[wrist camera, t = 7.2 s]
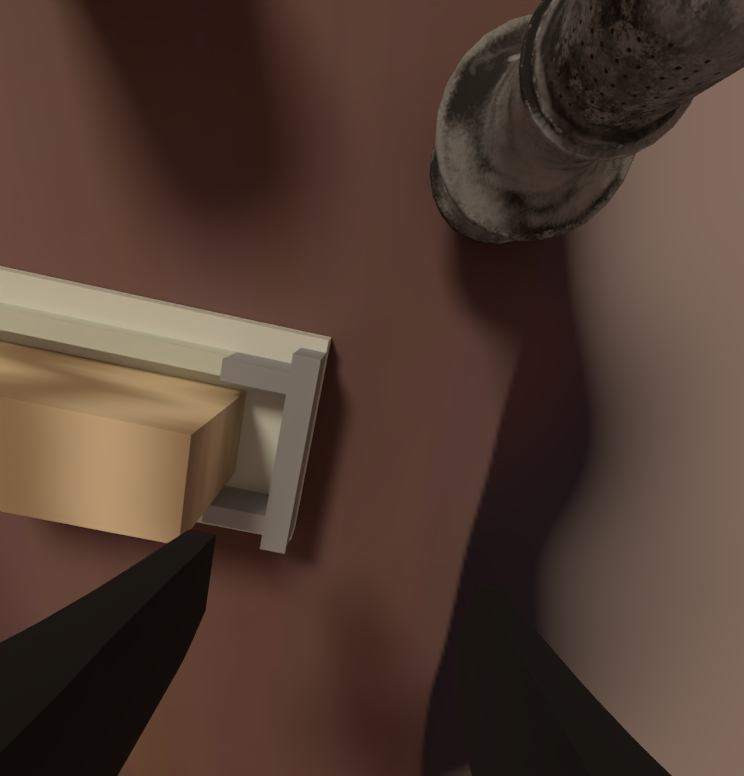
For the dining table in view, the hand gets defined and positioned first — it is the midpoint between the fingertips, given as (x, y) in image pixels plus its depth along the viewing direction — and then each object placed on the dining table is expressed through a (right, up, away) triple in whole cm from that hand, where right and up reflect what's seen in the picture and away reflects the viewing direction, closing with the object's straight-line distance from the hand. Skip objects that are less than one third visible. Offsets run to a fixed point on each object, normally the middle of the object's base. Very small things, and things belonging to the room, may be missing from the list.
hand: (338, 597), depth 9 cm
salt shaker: (+6, +13, +6) cm, 15 cm away
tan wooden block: (-10, +4, +7) cm, 13 cm away
